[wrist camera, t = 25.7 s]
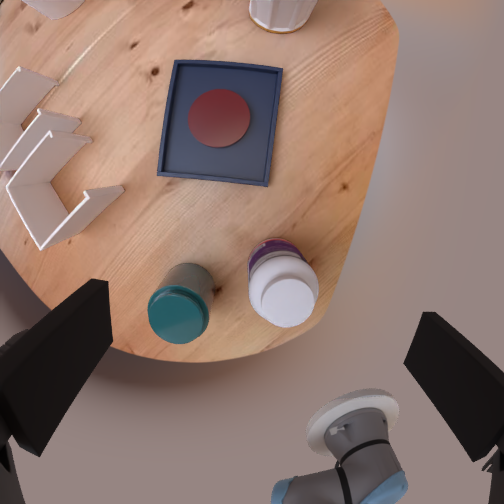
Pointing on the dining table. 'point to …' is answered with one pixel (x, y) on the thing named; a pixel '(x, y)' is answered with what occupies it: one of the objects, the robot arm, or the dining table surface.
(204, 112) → the lid
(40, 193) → the storage container
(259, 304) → the pill bottle
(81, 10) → the dining table surface
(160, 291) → the jar
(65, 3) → the tall pillar cylinder
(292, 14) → the cup
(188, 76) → the tray
